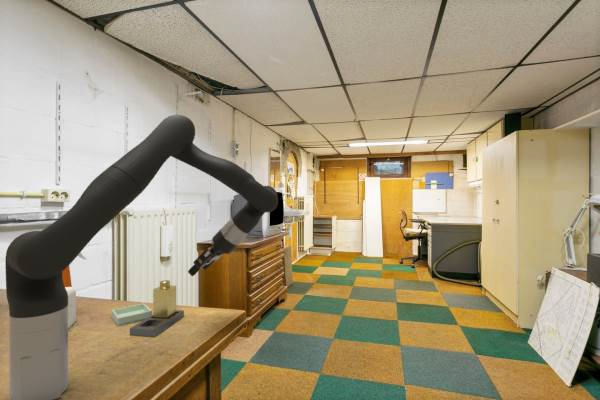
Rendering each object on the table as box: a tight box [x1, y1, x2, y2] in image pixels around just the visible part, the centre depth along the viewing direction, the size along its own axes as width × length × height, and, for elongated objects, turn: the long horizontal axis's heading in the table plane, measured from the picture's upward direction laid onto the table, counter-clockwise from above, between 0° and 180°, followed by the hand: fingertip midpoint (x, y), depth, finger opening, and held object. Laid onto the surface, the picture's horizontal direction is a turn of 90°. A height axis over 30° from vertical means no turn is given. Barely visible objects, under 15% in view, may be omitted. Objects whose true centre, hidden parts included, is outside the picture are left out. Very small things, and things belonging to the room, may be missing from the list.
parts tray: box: [111, 303, 153, 327], centre depth 104 cm, size 10×10×2 cm
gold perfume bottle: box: [152, 279, 177, 319], centre depth 101 cm, size 5×5×13 cm
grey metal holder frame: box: [129, 309, 185, 338], centre depth 98 cm, size 8×16×2 cm, turn 171°
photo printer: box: [65, 286, 77, 329], centre depth 96 cm, size 10×4×12 cm, turn 17°
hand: (197, 270), depth 99 cm, fingers open, 8 cm apart
